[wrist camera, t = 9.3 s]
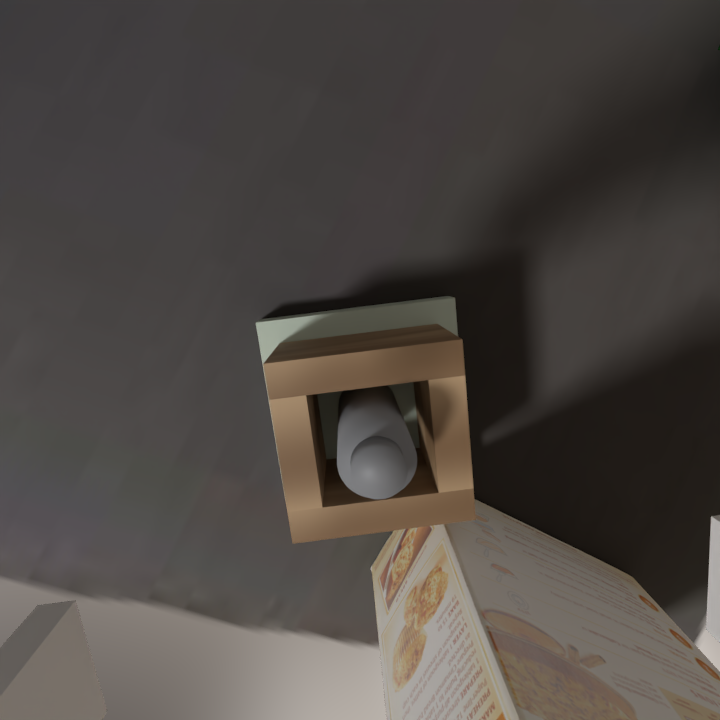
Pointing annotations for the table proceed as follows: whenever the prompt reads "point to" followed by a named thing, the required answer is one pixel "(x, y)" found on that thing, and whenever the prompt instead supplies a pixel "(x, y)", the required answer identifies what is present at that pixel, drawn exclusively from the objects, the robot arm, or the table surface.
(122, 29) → the table surface
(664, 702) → the coffeecake box
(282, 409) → the collar
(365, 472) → the sage green base plate
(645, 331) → the table surface
